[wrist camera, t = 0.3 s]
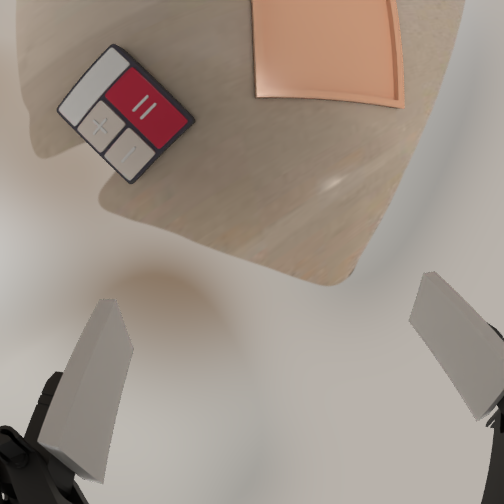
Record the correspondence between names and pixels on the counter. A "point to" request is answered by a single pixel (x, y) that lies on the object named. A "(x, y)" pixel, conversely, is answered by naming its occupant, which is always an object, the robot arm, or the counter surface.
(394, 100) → the tray
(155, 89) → the calculator
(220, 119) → the counter surface
